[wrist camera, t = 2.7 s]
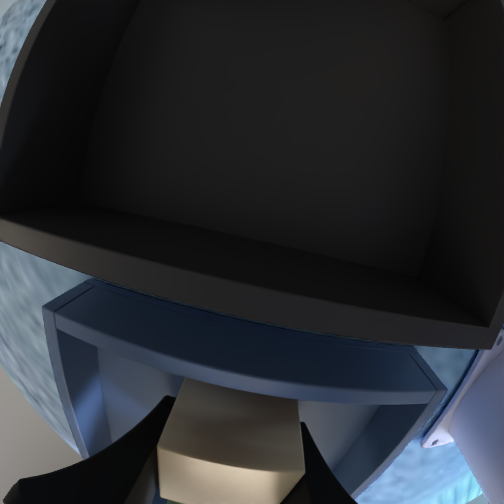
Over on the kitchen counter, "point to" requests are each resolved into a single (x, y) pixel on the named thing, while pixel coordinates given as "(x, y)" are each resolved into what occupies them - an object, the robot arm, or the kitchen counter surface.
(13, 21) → the kitchen counter surface
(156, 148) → the black basket
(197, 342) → the blue box
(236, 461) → the cream cube
